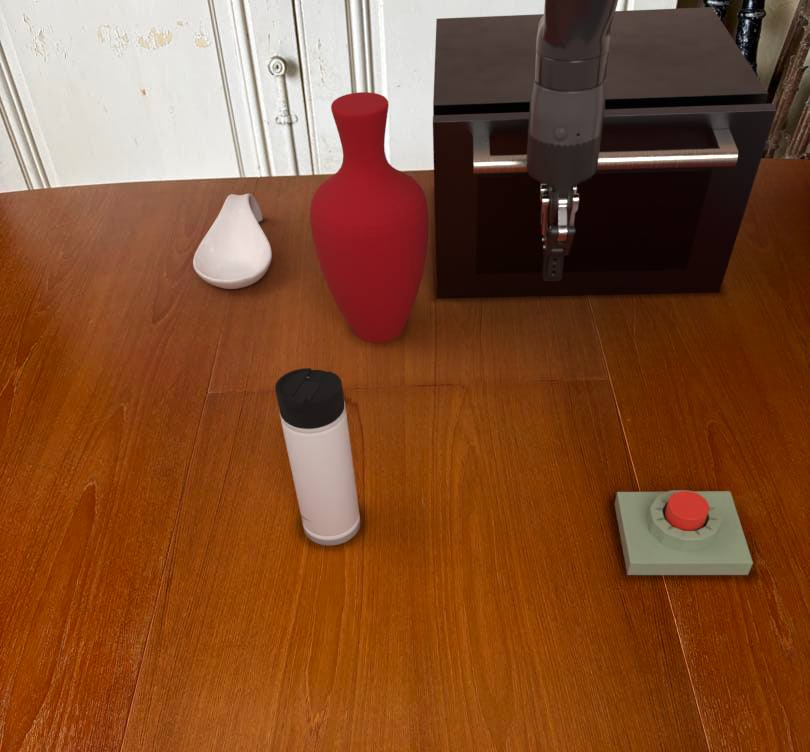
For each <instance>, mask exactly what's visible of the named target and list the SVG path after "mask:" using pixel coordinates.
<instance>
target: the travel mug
mask: <svg viewBox="0 0 810 752" xmlns="http://www.w3.org/2000/svg"><path fill="white" fill-rule="evenodd" d="M274 390H275V395H276V401H277V404H278V405H277V406H278V411H279V417H280V423H281V427H282V432H283V437H284V442H285V446H286V451H287V455H288V460H289V465H290V470H291V474H292V480H293V483H294V485H293V486H294V490H295V494H296V498H297V504H298V509H299V513H300V517H301V523H302V528H303V532H304V534H305V536H307V538H308V539H309V540H310V541H312V542H313V543H315V544H318V545H321V546H327V547H328V546H338V545H341V544H344V543H346V542H348V541H350V540H351V539H352V538H354V537H355V536H356V534H357V533H358V532H359V530H360V527H361V515H360V508H359V507H360V506H359V499H358V492H357V485H356V484H357V483H356V476H355V469H354V460H353V454H352V446H351V445H352V444H351V438H350V431H349V423H348V415H347V407H346V402H345V397H344V389H343V381H342V379H341V377H340V376H339V375H338V374H337V373H335V372H332V371H330V370H328V371H327V370H324V369H323V370H322V369H312V368H311V367H307V368H305V367H303V368H298V369H294V370H291V371H289V372H287V373H284V374H282V376H280V377H279V378H278V380H277V381H276V383H275V386H274Z"/></svg>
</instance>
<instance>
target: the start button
mask: <svg viewBox="0 0 810 752" xmlns="http://www.w3.org/2000/svg"><path fill="white" fill-rule="evenodd" d="M690 491H691V490H690ZM690 491H680V492H677V493H674V494H673V495H672V496H671V497H670V498H669V500H668V504H667V507H666V511H665V517H666V519H667V521H668V522H669V523H670V524H671V525H672V526H673V527H675V528H678V529H680V530H684V531H693V530H697V529H699V528H701V527H702V526H703V525H704V523H705V521H706V518H707V515H708V512H709V504H708V502H707V501H706V499H705V498H704V497H702V496H701V495H699V494H697V493H694V492H690Z"/></svg>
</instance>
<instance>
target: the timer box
mask: <svg viewBox="0 0 810 752" xmlns="http://www.w3.org/2000/svg"><path fill="white" fill-rule="evenodd" d="M680 491H690V492H694V493H697V494H699V495H701V496H702V497H704V498H705V499H706V501H707V502H708V504H709V512H708V515H707V518H706V521H705V523H704V525H703V526H702V527H701V528H699V529H697V530H693V531H684V530H680V529H678V528H675V527H673V526H672V525H671V524H670V523H669V522H668V521H667V519H666V517H665V511H666V507H667V504H668V500H669V498H670V497H671V496H672V495H673V494H674V493H677V492H680ZM614 508H615V516H616V520H617V526H618V531H619V537H620V543H621V547H622V554H623V558H624V564H625V570H626V575H628V576H749V573H750V570H751V569H752V567H753V564H754V562H753V559H752V555H751V552H750V549H749V546H748V542H747V540H746V536H745V534H744V530H743V527H742V524H741V521H740V517H739V513H738V511H737V508H736V504H735V501H734V497H733V496H732V492H731V491H730V490H723V491H722V490H720V491H719V490H716V491H715V490H712V491H711V490H709V491H707V490H706V491H705V490H703V491H702V490H701V491H700V490H699V491H696V490H695V491H693V490H689V489H677V490H675V489H673V490H668V491H616V495H615V500H614Z"/></svg>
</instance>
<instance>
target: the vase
mask: <svg viewBox="0 0 810 752" xmlns="http://www.w3.org/2000/svg"><path fill="white" fill-rule="evenodd" d="M330 111H331V114H332V116H333V120H334V123H335V126H336V130H337V133H338V136H339V140H340V144H341V150H342V163H341V166H340V167H339V169H338V170H337V171H336V172H335V173H334V174H333V175H331V176H330V177H328V178H327V179H326V180H325V181H323V182H322V183H320V185H319V186H318V187H317V188H316V191H315V192H314V194H313V196H312V197H311V198H312V199H311V202H310V209H309V219H310V220H309V221H310V230H311V231H310V232H311V236H312V240H313V241H312V242H313V246H314V249H315V253H316V256H317V259H318V263H319V265H320V268H321V271H322V274H323V277H324V279H325V282H326V285H327V287H328V289H329V292H330V294H331V296H332V298H333V301H334V302H335V304H336V306H337V307H338V310H339V311H340V313H341V314H342V316H343V318H344V320H345V321H346V322H347V324H348V326H349V327H350V328H351V330H352V332H353V333H354V335H355V336H356V337H357V338H358V339H360V340H362V341H364V342H367V343H372V344H379V343H386V342H390V341H392V340H394V339H397V337H399V336H400V335H401V334H402V333H403V331H404V329H405V326H406V324H407V322H408V320H409V317H410V315H411V312H412V310H413V307H414V305H415V302H416V299H417V296H418V293H419V290H420V287H421V282H422V278H423V273H424V268H425V265H426V264H425V263H426V258H427V251H428V243H429V242H428V240H429V226H430V225H429V221H430V219H429V209H428V208H429V207H428V200H427V197H426V194H425V192H424V190H423V188H422V187H421V185H420V184H419V183H418V181H417V180H416V179H414V178H413V177H412V176H410V175H408V174H407V173H405V172H403V171H402V170H399V169H397V168H395V167H393V166H392V165H391V164H390V162H389V161H388V160H387V156H386V155H387V154H386V152H385V137H386V129H387V120H388V112H389V100H388V99H387V97H386V96H384V95H382V94H379V93H375V92H368V91H361V92H352V93H347V94H344V95H341V96H339V97H337V98H335V99H334V100H333V101H332V103H331V105H330Z"/></svg>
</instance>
